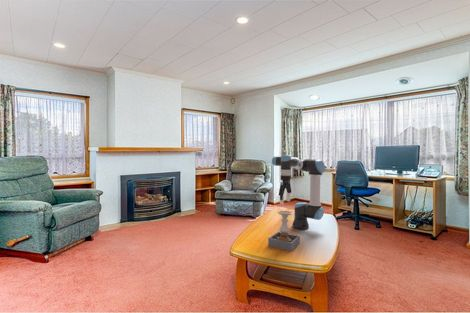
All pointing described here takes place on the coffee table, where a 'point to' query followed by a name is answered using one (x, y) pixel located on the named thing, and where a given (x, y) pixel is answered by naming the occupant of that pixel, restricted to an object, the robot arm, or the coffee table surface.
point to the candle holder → (284, 227)
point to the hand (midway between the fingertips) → (285, 202)
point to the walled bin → (284, 242)
